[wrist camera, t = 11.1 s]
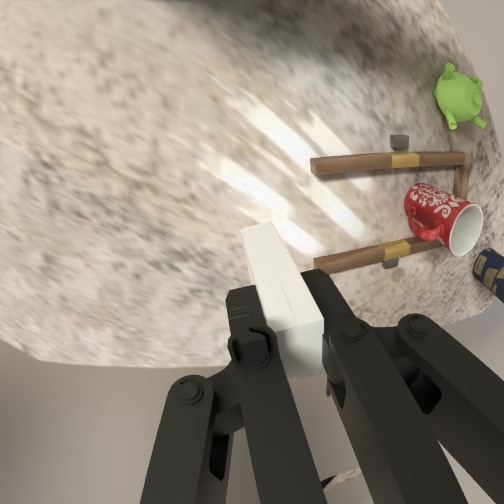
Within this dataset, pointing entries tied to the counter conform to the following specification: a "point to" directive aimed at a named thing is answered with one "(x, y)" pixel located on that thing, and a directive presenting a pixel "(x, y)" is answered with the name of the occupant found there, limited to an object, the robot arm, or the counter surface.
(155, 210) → the counter surface
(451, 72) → the teapot
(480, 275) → the canister
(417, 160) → the beam slot
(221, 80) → the counter surface
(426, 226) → the mug
